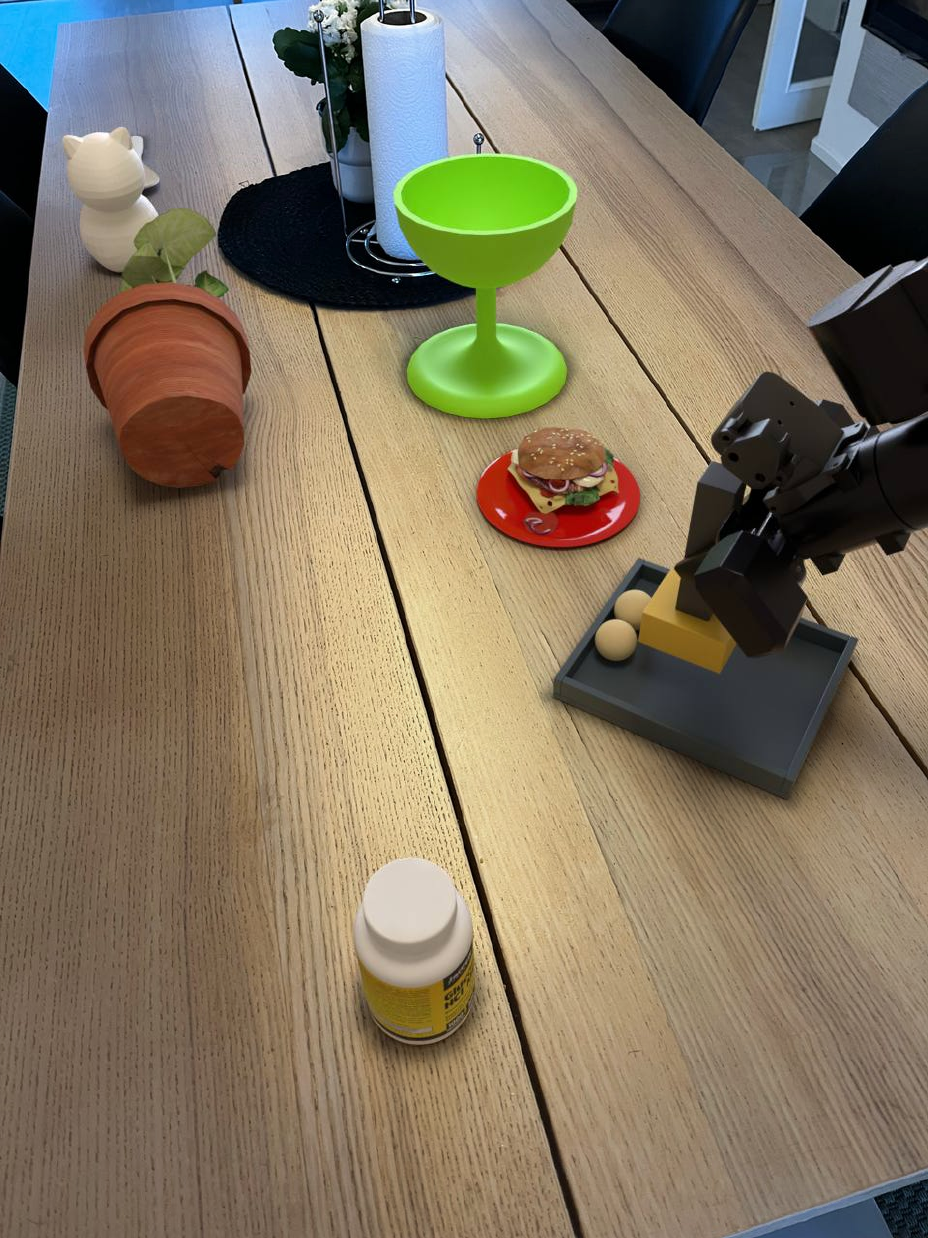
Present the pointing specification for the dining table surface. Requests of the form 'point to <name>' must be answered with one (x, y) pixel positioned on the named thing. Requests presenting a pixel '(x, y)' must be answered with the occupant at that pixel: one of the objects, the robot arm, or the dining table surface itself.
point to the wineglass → (486, 276)
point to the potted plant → (171, 359)
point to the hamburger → (558, 490)
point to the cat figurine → (108, 194)
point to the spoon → (150, 176)
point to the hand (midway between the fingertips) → (686, 559)
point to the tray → (714, 695)
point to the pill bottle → (415, 951)
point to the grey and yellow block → (676, 606)
